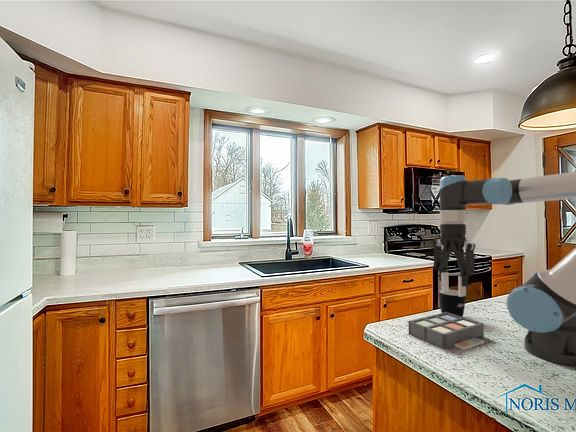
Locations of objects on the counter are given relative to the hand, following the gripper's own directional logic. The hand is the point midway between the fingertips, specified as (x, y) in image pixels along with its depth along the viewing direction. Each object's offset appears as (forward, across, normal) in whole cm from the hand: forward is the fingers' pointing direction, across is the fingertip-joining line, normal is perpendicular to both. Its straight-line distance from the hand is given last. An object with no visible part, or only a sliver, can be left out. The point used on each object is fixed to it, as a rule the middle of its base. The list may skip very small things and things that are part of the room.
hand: (453, 293), depth 99 cm
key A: (+13, +6, -6) cm, 15 cm away
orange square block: (+13, 0, 0) cm, 13 cm away
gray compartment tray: (+15, +2, 0) cm, 15 cm away
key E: (+13, +6, +6) cm, 15 cm away
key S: (+13, 0, +6) cm, 14 cm away
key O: (+13, 0, -6) cm, 14 cm away
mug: (+15, +13, -19) cm, 27 cm away
